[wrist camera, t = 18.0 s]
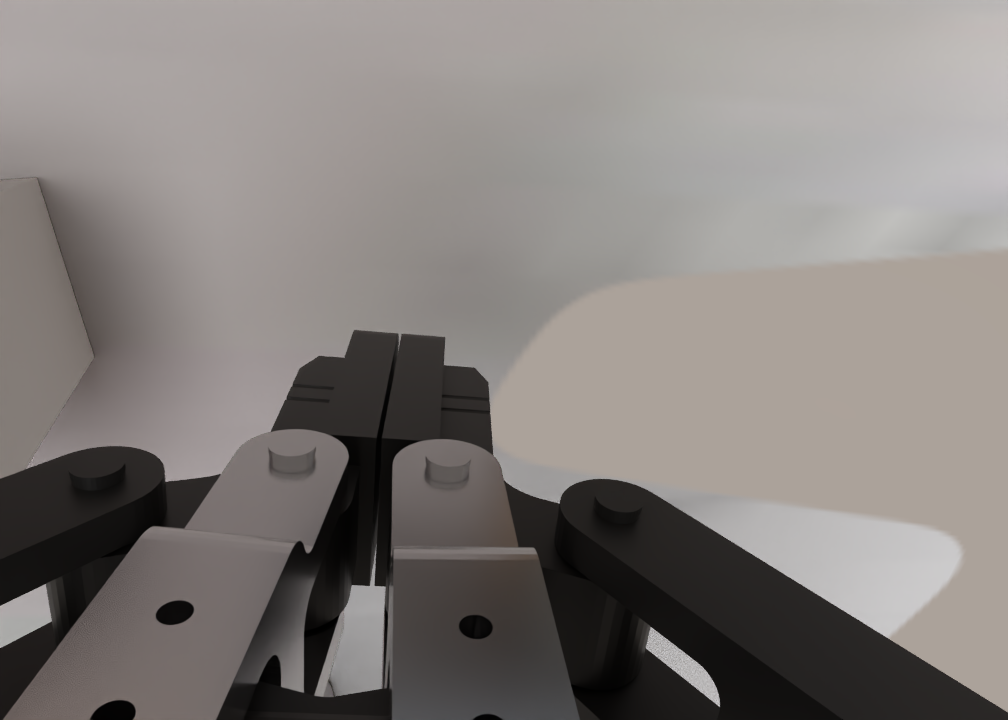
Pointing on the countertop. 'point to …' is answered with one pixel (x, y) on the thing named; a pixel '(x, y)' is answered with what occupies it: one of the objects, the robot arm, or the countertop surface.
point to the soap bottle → (34, 326)
